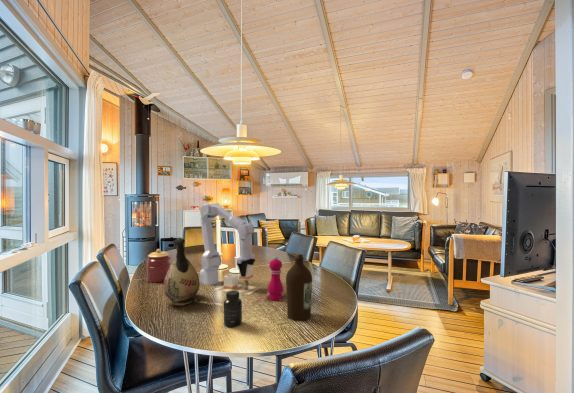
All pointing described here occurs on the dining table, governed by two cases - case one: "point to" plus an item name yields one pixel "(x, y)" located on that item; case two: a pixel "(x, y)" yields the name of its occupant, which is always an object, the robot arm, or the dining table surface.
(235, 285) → the seated sleeve
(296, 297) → the olive oil
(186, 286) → the ceramic jug
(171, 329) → the dining table surface
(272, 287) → the pepper mill
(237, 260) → the robot arm
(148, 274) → the canister
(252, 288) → the pin board
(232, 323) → the supplement bottle
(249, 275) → the sleeve
